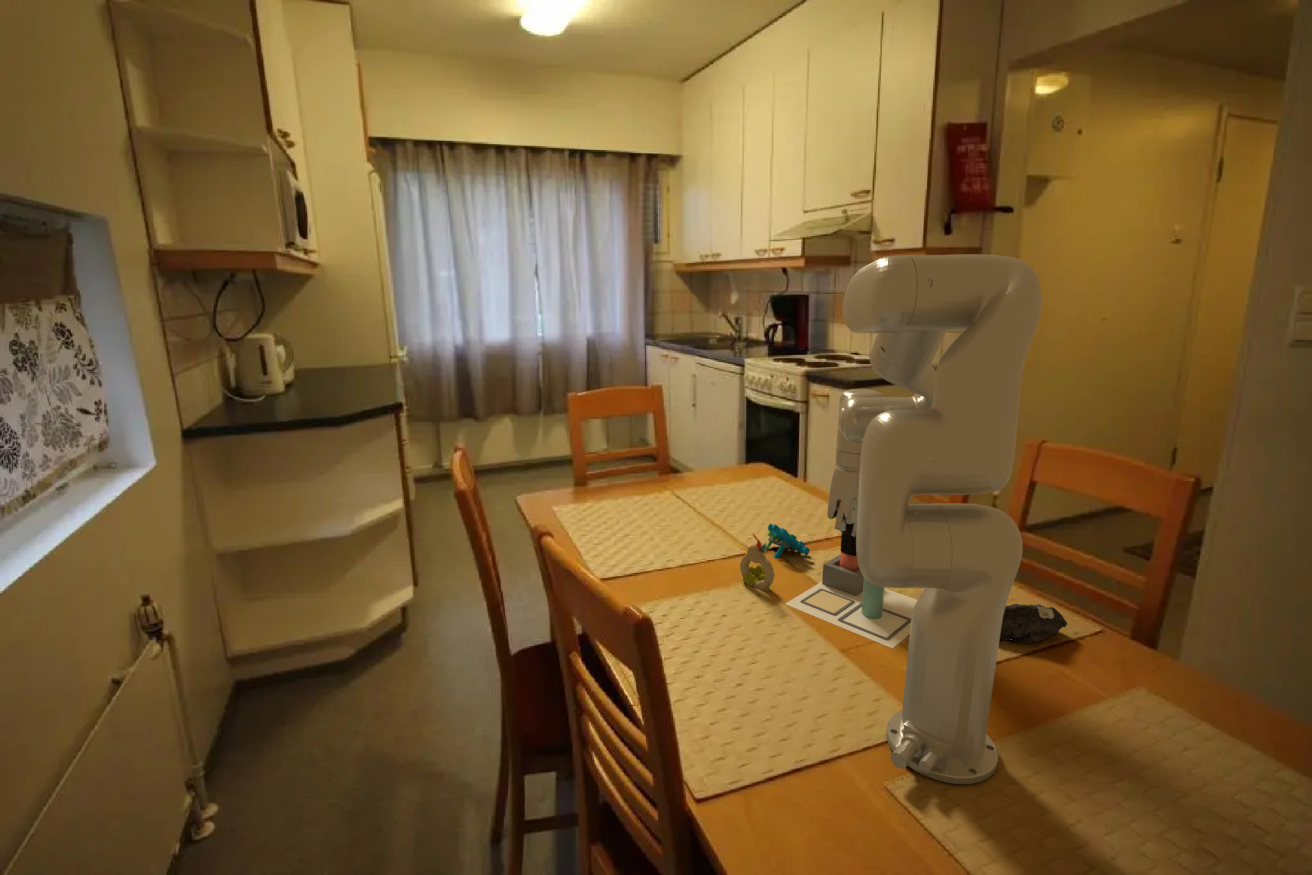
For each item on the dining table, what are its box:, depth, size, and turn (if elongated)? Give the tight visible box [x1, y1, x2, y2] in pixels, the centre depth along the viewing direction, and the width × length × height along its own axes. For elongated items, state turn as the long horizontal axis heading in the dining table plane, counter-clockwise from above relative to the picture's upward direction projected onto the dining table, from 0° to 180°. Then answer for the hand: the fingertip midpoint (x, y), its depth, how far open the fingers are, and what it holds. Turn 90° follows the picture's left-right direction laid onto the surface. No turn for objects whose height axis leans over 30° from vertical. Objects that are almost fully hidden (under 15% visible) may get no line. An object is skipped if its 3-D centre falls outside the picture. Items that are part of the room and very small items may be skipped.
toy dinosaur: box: [766, 523, 811, 559], centre depth 135 cm, size 11×6×10 cm
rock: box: [1000, 603, 1068, 644], centre depth 105 cm, size 12×8×10 cm
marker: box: [861, 578, 885, 619], centre depth 110 cm, size 4×4×11 cm
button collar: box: [821, 554, 864, 596], centre depth 122 cm, size 7×7×4 cm
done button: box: [839, 551, 859, 572], centre depth 121 cm, size 4×4×5 cm
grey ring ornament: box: [739, 533, 775, 591], centre depth 122 cm, size 8×8×12 cm
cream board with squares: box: [784, 581, 918, 650], centre depth 114 cm, size 18×20×1 cm
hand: (850, 552), depth 121 cm, fingers closed
